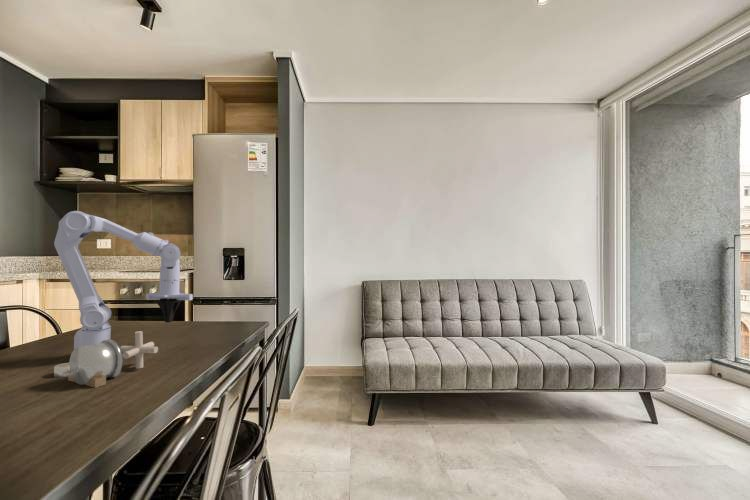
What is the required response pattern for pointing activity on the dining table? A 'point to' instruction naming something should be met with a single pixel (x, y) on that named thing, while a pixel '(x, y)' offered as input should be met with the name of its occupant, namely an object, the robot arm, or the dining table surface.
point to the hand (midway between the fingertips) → (168, 322)
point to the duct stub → (95, 363)
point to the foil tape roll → (61, 370)
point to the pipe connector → (138, 349)
